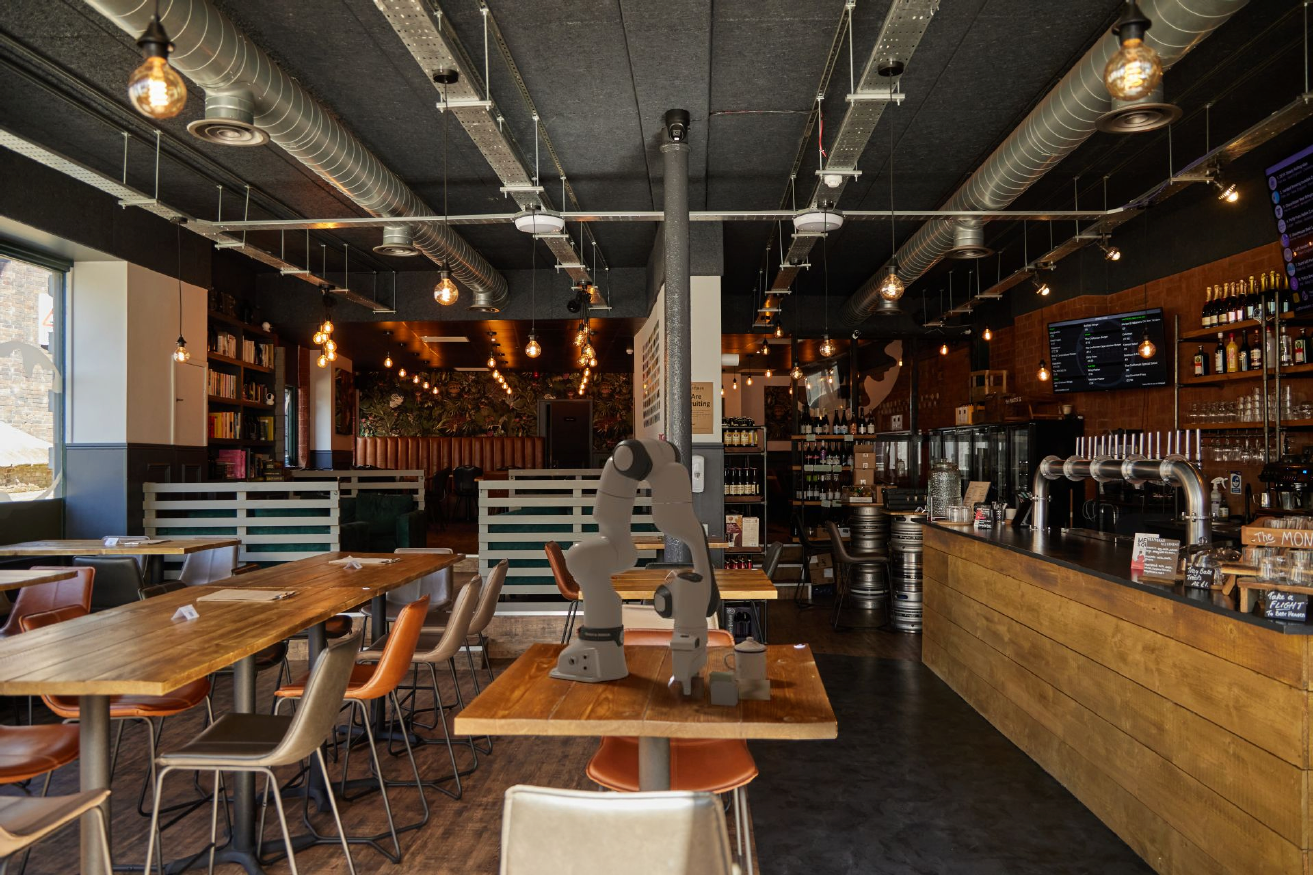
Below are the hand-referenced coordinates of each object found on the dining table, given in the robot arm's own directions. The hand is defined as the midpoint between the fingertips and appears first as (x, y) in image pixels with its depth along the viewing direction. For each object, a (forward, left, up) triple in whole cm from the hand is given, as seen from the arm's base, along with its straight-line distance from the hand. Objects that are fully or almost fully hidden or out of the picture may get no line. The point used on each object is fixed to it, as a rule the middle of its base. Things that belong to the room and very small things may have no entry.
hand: (691, 690), depth 221 cm
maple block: (+15, +5, -2) cm, 16 cm away
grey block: (+9, -3, -2) cm, 10 cm away
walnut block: (0, 0, -2) cm, 2 cm away
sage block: (+6, +7, -2) cm, 10 cm away
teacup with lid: (+9, +22, -2) cm, 24 cm away
